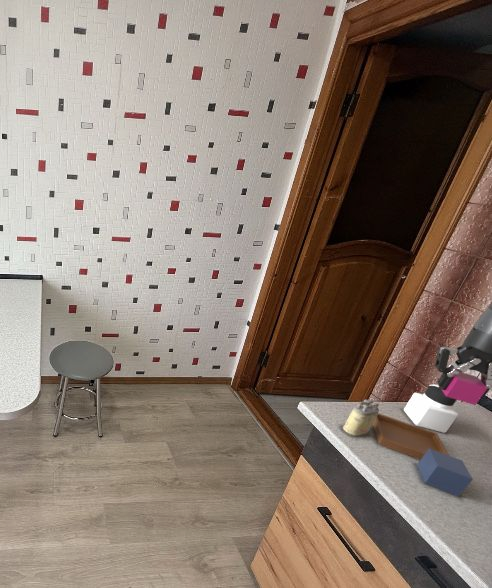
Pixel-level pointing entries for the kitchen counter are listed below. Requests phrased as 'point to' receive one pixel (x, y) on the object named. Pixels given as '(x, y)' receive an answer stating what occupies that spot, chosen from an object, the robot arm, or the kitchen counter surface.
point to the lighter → (361, 418)
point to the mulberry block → (465, 388)
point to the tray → (406, 437)
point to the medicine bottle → (431, 409)
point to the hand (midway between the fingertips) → (457, 392)
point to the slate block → (444, 472)
